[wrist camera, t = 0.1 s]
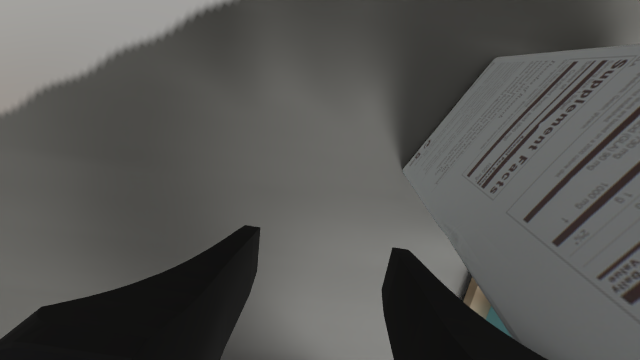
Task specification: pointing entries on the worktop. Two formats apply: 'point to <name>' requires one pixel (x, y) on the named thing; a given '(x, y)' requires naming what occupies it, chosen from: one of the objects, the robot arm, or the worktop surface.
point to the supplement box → (547, 197)
